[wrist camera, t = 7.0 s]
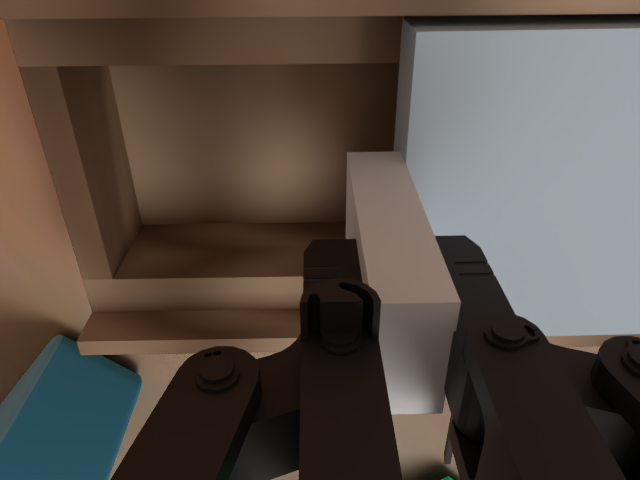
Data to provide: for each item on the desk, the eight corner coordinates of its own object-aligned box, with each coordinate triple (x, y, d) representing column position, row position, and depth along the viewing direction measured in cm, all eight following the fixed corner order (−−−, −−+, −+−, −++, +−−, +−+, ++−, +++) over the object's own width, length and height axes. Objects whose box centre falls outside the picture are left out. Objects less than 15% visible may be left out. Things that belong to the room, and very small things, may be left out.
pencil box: (132, 256, 22) (80, 355, 17) (65, -32, 17) (-42, -10, 12) (593, 248, 23) (676, 344, 18) (685, -36, 17) (848, -17, 12)
